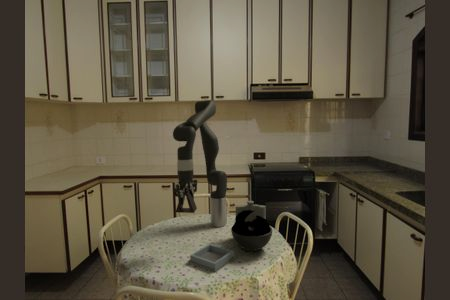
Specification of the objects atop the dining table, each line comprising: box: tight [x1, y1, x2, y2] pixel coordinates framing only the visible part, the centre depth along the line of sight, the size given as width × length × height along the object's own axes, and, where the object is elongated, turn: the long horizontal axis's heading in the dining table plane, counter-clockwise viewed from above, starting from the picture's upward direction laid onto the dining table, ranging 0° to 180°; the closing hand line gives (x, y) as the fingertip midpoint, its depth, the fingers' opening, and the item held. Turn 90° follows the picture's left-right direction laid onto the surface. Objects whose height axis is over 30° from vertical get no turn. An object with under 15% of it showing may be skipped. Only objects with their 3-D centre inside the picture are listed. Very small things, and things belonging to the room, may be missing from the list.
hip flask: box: [235, 200, 267, 222], centre depth 148 cm, size 16×4×20 cm, turn 86°
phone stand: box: [175, 187, 198, 214], centre depth 132 cm, size 9×6×12 cm, turn 83°
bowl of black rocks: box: [230, 210, 273, 251], centre depth 135 cm, size 20×20×19 cm
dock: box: [188, 243, 236, 273], centre depth 125 cm, size 15×15×3 cm
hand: (186, 203), depth 133 cm, fingers closed on phone stand, 6 cm apart
